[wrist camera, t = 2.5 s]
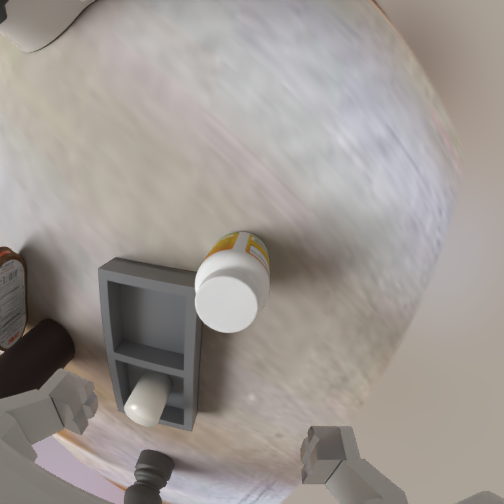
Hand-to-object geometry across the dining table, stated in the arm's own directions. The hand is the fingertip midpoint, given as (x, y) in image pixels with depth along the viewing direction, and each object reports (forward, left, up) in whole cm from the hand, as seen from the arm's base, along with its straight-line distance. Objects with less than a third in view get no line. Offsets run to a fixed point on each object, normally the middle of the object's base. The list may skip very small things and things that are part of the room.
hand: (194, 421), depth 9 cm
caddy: (+12, -8, -19) cm, 24 cm away
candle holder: (+39, -10, -19) cm, 44 cm away
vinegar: (+16, -24, -19) cm, 35 cm away
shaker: (+17, -8, -18) cm, 26 cm away
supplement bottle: (0, 0, -19) cm, 19 cm away
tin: (+10, -30, -19) cm, 37 cm away
